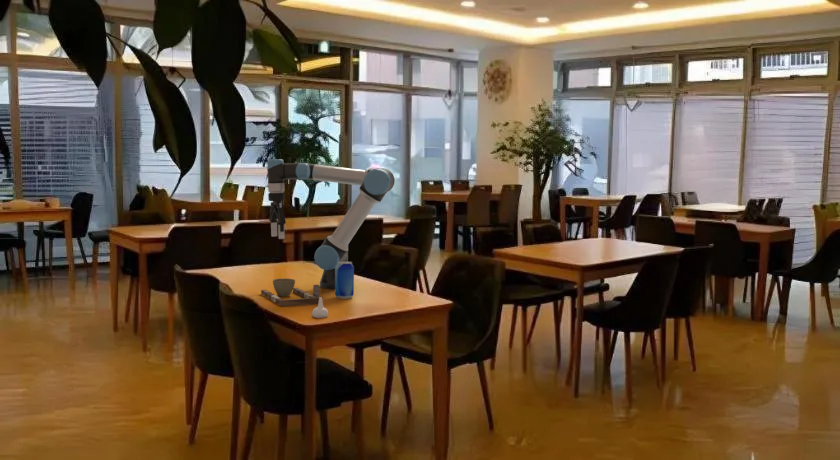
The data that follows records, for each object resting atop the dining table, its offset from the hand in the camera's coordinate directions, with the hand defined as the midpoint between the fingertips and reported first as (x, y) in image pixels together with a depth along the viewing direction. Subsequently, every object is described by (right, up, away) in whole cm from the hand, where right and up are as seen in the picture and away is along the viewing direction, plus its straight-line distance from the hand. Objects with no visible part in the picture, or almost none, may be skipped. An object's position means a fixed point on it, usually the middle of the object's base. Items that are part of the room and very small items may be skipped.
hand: (277, 237), depth 369 cm
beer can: (+33, -27, -16) cm, 45 cm away
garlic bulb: (+27, -31, -58) cm, 71 cm away
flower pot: (+5, -26, -14) cm, 30 cm away
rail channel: (+11, -27, -21) cm, 36 cm away
